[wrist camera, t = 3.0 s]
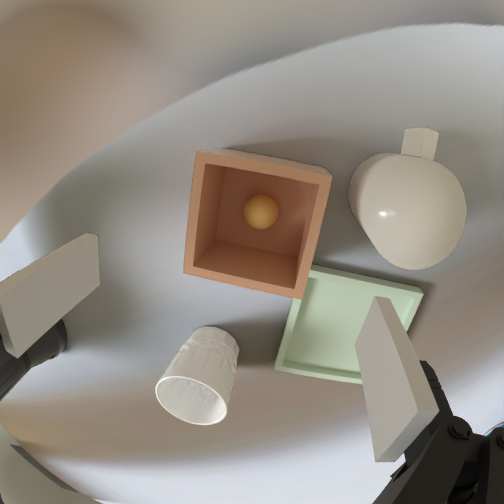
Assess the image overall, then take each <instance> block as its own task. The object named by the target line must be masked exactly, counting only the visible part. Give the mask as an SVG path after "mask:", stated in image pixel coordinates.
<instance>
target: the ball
mask: <svg viewBox="0 0 504 504" xmlns="http://www.w3.org/2000/svg"><path fill="white" fill-rule="evenodd" d="M243 215H244V218H245V220H246V222H247V223H248V224H249V225H250V226H251V227H253V228H256V229H266V228H269V227H270V226H272V225H273V224H274V223H275V221H276V220H277V217H278V207H277V204H276V202H275V201H274V200H273V199H272V198H271V197H269V196H267V195H263V194H259V195H255V196H252V197H251V198H249V199H248V200H247V202H246V203H245V205H244V209H243Z"/></svg>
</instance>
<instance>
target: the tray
mask: <svg viewBox="0 0 504 504" xmlns="http://www.w3.org/2000/svg"><path fill="white" fill-rule="evenodd" d="M374 296H379V297H385V298H390V300H391V302H392V304H393V306H394V308H395V310H396V312H397V314H398V316H399V318H400V320H401V323H402V325H403V327H404V329H405V331H406V332H407V330H408V328H409V326H410V324H411V322H412V319H413V317H414V315H415V313H416V311H417V308H418V306H419V304H420V301H421V299H422V297H423V292H422V291H421V289H420V288H419V287H415V286H410V285H406V284H401V283H396V282H392V281H387V280H383V279H378V278H373V277H369V276H364V275H360V274H355V273H350V272H346V271H341V270H337V269H332V268H327V267H323V266H318V265H313V264H312V265H311V268H310V272H309V276H308V280H307V283H306V287H305V290H304V294H303V297H302V300H300V299H295V298H293V300H292V303H291V307H290V311H289V314H288V318H287V322H286V325H285V329H284V332H283V336H282V339H281V343H280V346H279V350H278V353H277V356H276V360H275V365H274V370H278V371H283V372H289V373H294V374H299V375H305V376H311V377H317V378H323V379H330V380H336V381H343V382H351V383H359V384H363V383H362V378H361V373H360V368H359V363H358V359H357V354H356V349H355V342H356V340H357V338H358V335H359V333H360V331H361V328H362V326H363V323H364V321H365V319H366V316H367V314H368V311H369V309H370V306H371V303H372V301H373V298H374Z"/></svg>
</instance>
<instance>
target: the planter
mask: <svg viewBox="0 0 504 504" xmlns="http://www.w3.org/2000/svg"><path fill="white" fill-rule="evenodd" d="M332 178H333V176H332V175H331V174H330V173H329V172H328V171H327V170H326V169H325V168H324V167H320V166H315V165H311V164H306V163H301V162H297V161H292V160H287V159H282V158H277V157H272V156H266V155H261V154H255V153H249V152H244V151H237V150H231V149H225V148H221V149H211V150H203V151H196V158H195V165H194V173H193V180H192V188H191V197H190V206H189V215H188V224H187V234H186V245H185V256H184V269H183V273H186V274H190V275H194V276H198V277H202V278H206V279H210V280H215V281H219V282H223V283H227V284H232V285H236V286H241V287H245V288H249V289H254V290H258V291H263V292H267V293H272V294H277V295H281V296H286V297H291V298H295V299H300V300H302V297H303V294H304V290H305V287H306V283H307V280H308V276H309V272H310V268H311V265H312V261H313V257H314V253H315V249H316V245H317V241H318V238H319V234H320V229H321V225H322V221H323V217H324V213H325V209H326V204H327V200H328V196H329V191H330V187H331V182H332ZM259 194H263V195H267V196H269V197H271V198H272V199H273V200H274V201H275V202H276V204H277V207H278V217H277V220H276V221H275V223H274V224H273V225H272V226H270V227H269V228H266V229H256V228H253V227H251V226H250V225H249V224H248V223H247V222H246V220H245V218H244V215H243V209H244V205H245V203H246V202H247V200H248V199H249V198H251V197H252V196H255V195H259Z"/></svg>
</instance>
